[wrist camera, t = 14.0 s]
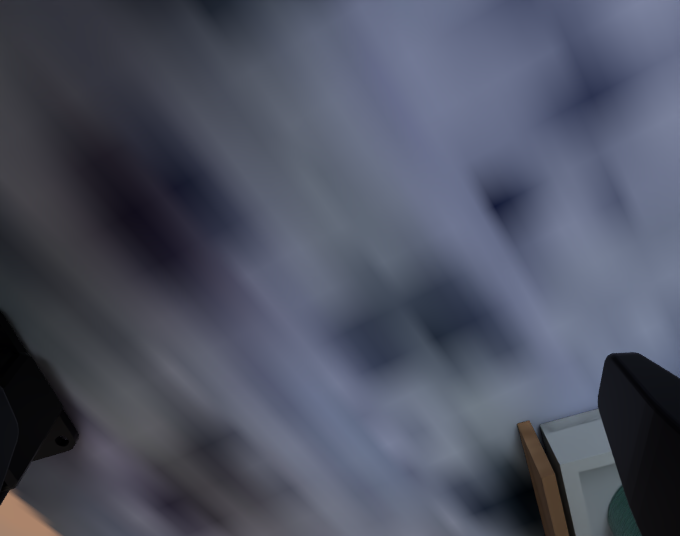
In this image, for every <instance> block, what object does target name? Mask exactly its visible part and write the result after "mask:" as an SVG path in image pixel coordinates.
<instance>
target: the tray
mask: <svg viewBox="0 0 680 536" xmlns="http://www.w3.org/2000/svg"><path fill="white" fill-rule="evenodd" d="M540 427H541V432H542V436H543V440H544V444H545V449H546V453H547V457H548V460H549V463H550V465H551V467H552V469H553V471H554V473H555V476H556V481H557V485H558V489H559V494H560V498H561V502H562V506H563V511H564V515H565V519H566V524H567V528H568V532H569V536H614V534H613V532H612V531H611V529H610V526H609V523H608V509H609V505H610V503H611V501H612V498H613V497H614V495H615V493H616V492H617V491H618V490H619V488H620V487H621V486H622V483H621V480H620V477H619V474H618V470H617V467H616V464H615V461H614V458H613V455H612V451H611V448H610V445H609V442H608V439H607V435H606V432H605V429H604V426H603V423H602V420H601V416H600V413H599V409H595V410H592V411H588V412H584V413H581V414H577V415H573V416H570V417H566V418H562V419H558V420H555V421H551V422H547V423H544V424H540Z"/></svg>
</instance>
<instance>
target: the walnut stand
mask: <svg viewBox="0 0 680 536" xmlns="http://www.w3.org/2000/svg"><path fill="white" fill-rule="evenodd" d="M517 425H518V429H519V433H520V437H521V441H522V445H523V449H524V453H525V457H526V461H527V464H528V468H529V472H530V476H531V480H532V484H533V488H534V492H535V496H536V500H537V504H538V508H539V512H540V516H541V520H542V524H543V528H544V531H545V535H546V536H569V532H568V528H567V524H566V519H565V515H564V511H563V506H562V502H561V498H560V494H559V489H558V485H557V481H556V476H555V473H554V471H553V469H552V467H551V465H550V463H549V460H548V458H547V456H546V454H545V452H544V450H543V448H542V446H541V444H540V442H539V440H538V437H537V435H536V433H535V431H534V429H533V427H532V425H531V423H530V421H526V422H522V423H518V424H517Z"/></svg>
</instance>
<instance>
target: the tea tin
mask: <svg viewBox="0 0 680 536" xmlns="http://www.w3.org/2000/svg"><path fill="white" fill-rule="evenodd" d="M608 523H609V526H610V529H611V531H612V532H613V534H614V536H642V535H641V533H640V531H639V529H638V526H637V524H636V522H635V519H634V517H633V515H632V512H631V510H630V507H629V504H628V501H627V498H626V496H625V493H624V490H623V486H621V487H620V488H619V490H618V491H617V492H616V493H615V495H614V497H613V498H612V501H611V503H610V505H609V509H608Z"/></svg>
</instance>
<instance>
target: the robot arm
mask: <svg viewBox="0 0 680 536" xmlns="http://www.w3.org/2000/svg"><path fill="white" fill-rule="evenodd" d="M598 408H599V413H600V416H601V420H602V423H603V426H604V429H605V432H606V435H607V439H608V442H609V445H610V448H611V451H612V455H613V458H614V461H615V464H616V467H617V470H618V474H619V477H620V480H621V483H622V486H623V490H624V493H625V496H626V498H627V501H628V504H629V507H630V510H631V512H632V515H633V517H634V519H635V522H636V524H637V526H638V529H639V531H640V533H641V535H642V536H680V378H678V377H677V376H675V375H674V374H672V373H670V372H669V371H667V370H665V369H664V368H662V367H661V366H659V365H657V364H656V363H654V362H652V361H651V360H649V359H648V358H646V357H644V356H643V355H641V354H639V353H634V352H630V353H612V354H610V355H608V356H607V358H606V360H605V363H604V367H603V373H602V378H601V383H600V388H599V394H598ZM60 436H64V437H66V438H67V440H65V439H62V438H61V437H60ZM78 437H79V434H78V431H77V430H76V428H75V427H74V425H73V423H72V422H71V420H70V419H69V417H68V416H67V414H66V412H65V411H64V409H63V408H62V404H61V403H60V401H59V399H58V398H57V396H56V395H55V393H54V392H53V390H52V388H51V387H50V385H49V384H48V382H47V381H46V379H45V377H44V376H43V374H42V373H41V371H40V370H39V368H38V366H37V365H36V363H35V362H34V360H33V359H32V357H31V356H30V355H29V354H28V353H27V351H26V350H25V348H24V347H23V345H22V343H21V342H20V340H19V339H18V337H17V336H16V334H15V332H14V331H13V329H12V328H11V326H10V325H9V323H8V321H7V320H6V318H5V317H4V315H3V314H2V313H1V312H0V505H1V503H2V502H3V500H4V498H5V496H6V495H7V493H8V492H9V490H10V489H14V488H15V487H16V486H17V485H18V484H19V482H20V480H21V479H22V477H23V475H24V474H25V472H26V470H27V469H28V467H29V465H30V463H31V462H32V461H35V460H38V459H42V458H45V457H49V456H52V455H56V454H59V453H63V452H66V451H69V450H71V449H73V447H74V446H75V444H76V442H77V440H78Z"/></svg>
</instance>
